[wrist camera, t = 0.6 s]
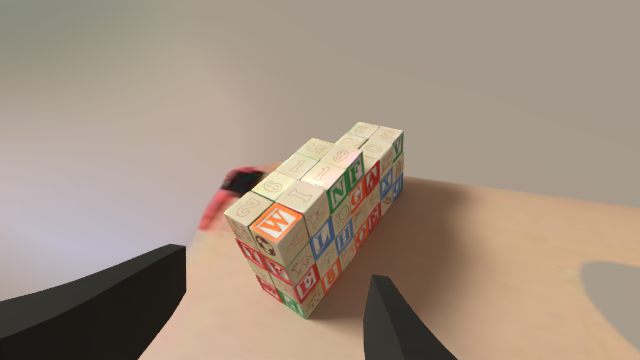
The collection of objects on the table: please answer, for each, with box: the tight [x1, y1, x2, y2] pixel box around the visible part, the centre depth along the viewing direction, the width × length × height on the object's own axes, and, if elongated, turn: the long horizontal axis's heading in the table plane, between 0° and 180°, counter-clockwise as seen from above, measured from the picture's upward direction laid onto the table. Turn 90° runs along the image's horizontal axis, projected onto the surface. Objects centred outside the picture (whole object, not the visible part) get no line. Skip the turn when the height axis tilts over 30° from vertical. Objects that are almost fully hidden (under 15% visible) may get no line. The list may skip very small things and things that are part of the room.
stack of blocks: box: [224, 122, 404, 319], centre depth 33 cm, size 21×6×12 cm, turn 143°
